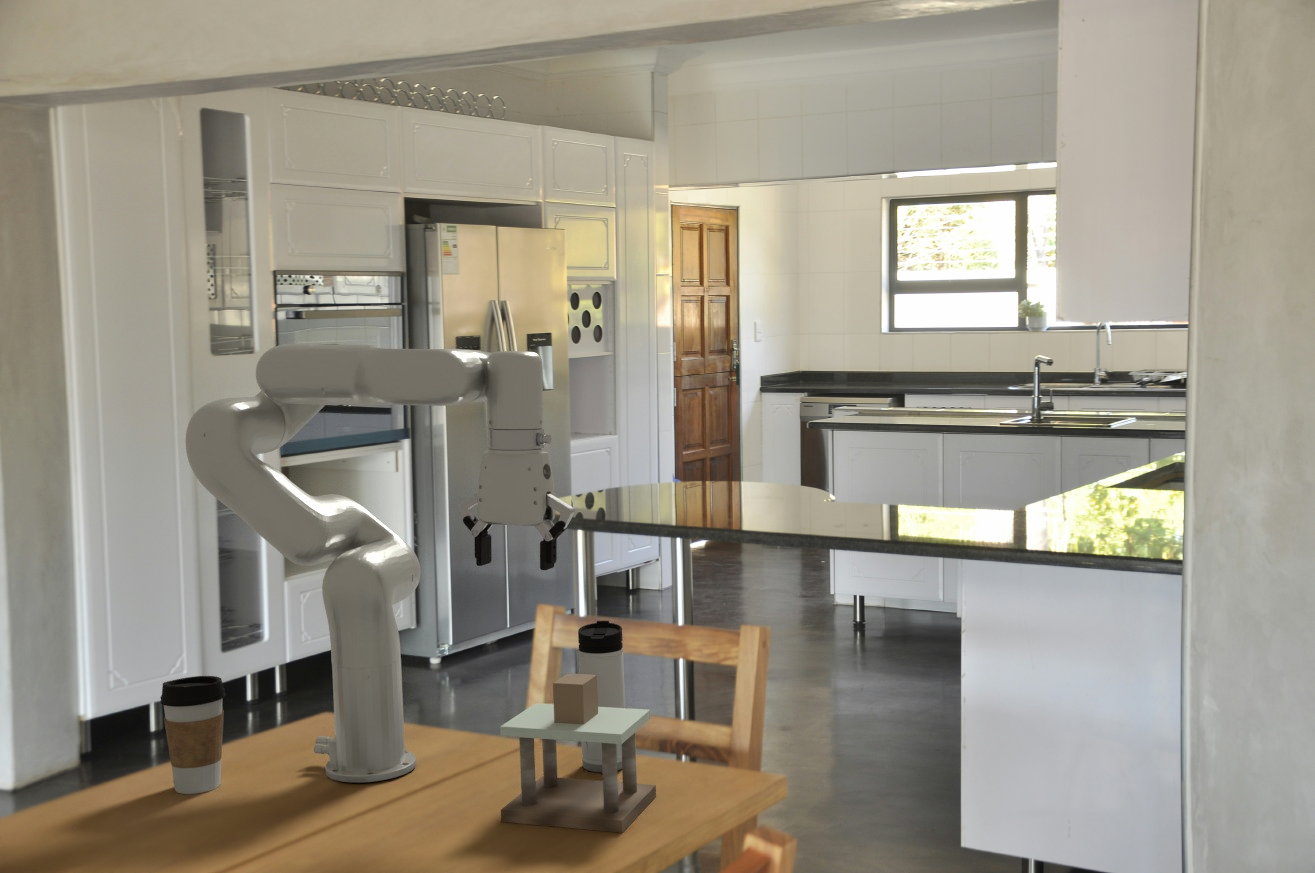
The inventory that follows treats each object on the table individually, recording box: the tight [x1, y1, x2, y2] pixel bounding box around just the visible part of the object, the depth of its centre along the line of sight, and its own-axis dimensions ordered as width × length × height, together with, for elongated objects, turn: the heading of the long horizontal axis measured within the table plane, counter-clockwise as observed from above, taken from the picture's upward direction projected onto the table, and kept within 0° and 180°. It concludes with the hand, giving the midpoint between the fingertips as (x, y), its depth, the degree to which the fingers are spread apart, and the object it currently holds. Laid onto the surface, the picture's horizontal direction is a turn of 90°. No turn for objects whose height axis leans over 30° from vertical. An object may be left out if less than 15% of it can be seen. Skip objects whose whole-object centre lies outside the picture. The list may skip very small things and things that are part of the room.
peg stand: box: [500, 732, 657, 833], centre depth 158 cm, size 16×13×10 cm
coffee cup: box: [159, 675, 226, 795], centre depth 171 cm, size 8×8×15 cm
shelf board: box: [500, 672, 651, 744], centre depth 158 cm, size 16×11×6 cm
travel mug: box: [577, 620, 626, 774], centre depth 175 cm, size 6×7×20 cm
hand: (515, 566), depth 171 cm, fingers open, 9 cm apart
